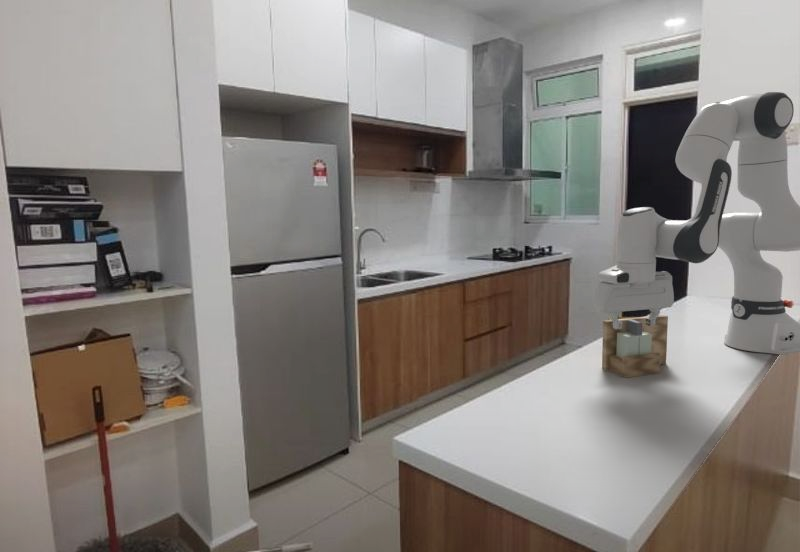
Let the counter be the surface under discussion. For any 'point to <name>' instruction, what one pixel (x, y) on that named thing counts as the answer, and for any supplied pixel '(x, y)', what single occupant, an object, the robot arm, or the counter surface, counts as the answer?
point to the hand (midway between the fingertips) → (634, 327)
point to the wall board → (635, 363)
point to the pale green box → (633, 340)
